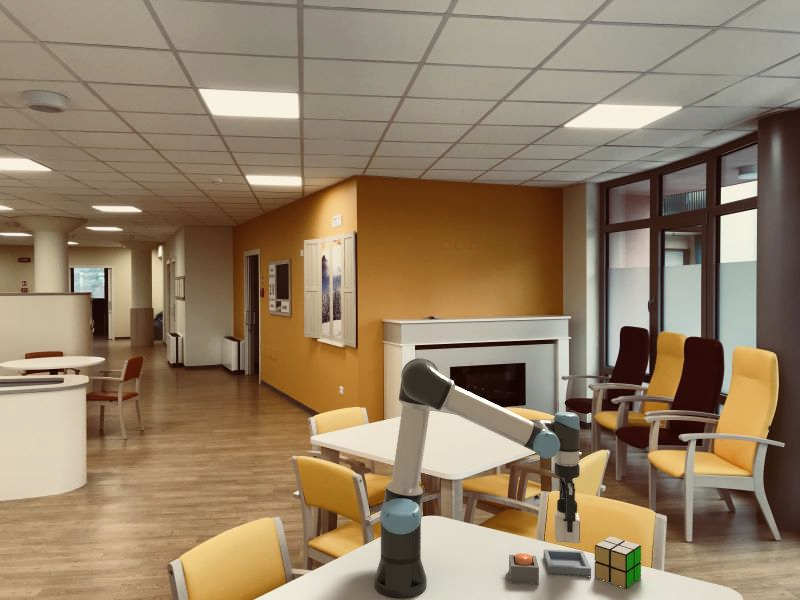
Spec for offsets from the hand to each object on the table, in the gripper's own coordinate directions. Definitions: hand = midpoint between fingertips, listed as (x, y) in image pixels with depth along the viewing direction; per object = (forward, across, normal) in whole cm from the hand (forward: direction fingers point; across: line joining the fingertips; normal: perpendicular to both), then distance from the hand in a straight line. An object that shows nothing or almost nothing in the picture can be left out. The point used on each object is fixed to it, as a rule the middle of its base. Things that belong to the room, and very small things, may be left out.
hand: (567, 536), depth 190 cm
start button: (+6, -9, +14) cm, 18 cm away
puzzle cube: (+10, -6, -14) cm, 18 cm away
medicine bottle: (+1, 0, 0) cm, 1 cm away
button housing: (+9, -9, +14) cm, 19 cm away
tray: (+9, 0, 0) cm, 9 cm away
